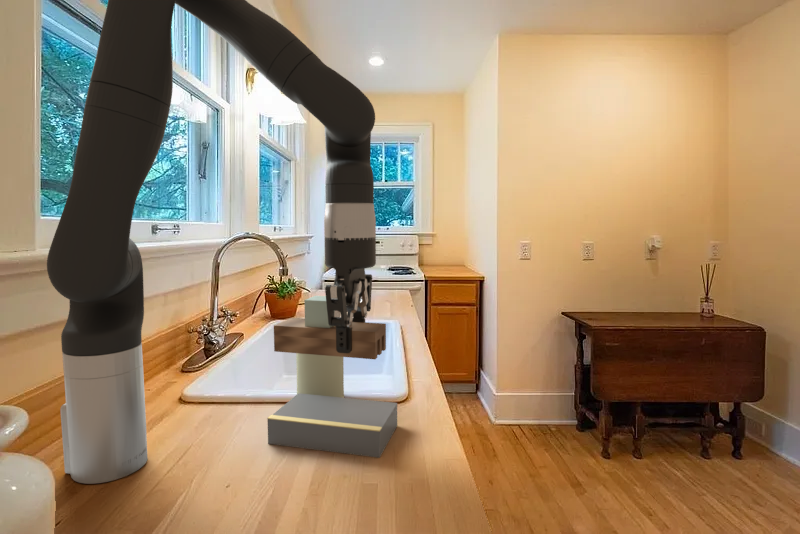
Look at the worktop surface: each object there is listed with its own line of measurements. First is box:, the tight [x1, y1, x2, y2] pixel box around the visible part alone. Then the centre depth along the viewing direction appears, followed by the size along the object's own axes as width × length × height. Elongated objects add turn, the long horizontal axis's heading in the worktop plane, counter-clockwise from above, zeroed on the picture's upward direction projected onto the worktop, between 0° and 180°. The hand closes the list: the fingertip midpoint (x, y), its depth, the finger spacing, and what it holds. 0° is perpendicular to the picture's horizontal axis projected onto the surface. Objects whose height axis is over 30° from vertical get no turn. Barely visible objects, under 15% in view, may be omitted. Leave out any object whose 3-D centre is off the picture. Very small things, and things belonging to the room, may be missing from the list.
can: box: [295, 353, 345, 398], centre depth 91 cm, size 9×9×12 cm
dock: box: [266, 393, 398, 458], centre depth 77 cm, size 18×11×4 cm, turn 77°
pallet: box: [273, 317, 387, 360], centre depth 72 cm, size 16×6×4 cm, turn 76°
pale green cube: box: [304, 295, 335, 328], centre depth 72 cm, size 4×4×4 cm
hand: (351, 346), depth 71 cm, fingers closed on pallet, 5 cm apart
